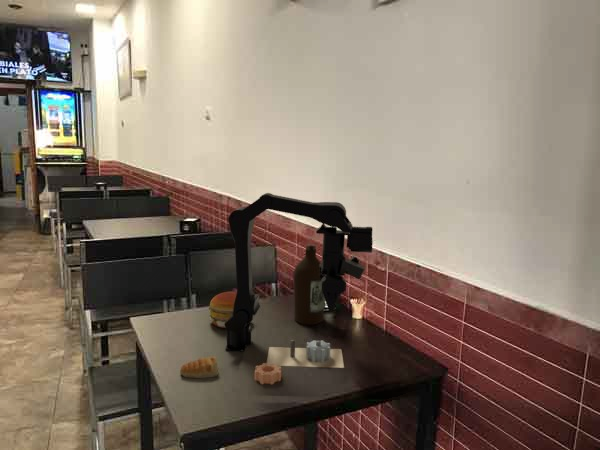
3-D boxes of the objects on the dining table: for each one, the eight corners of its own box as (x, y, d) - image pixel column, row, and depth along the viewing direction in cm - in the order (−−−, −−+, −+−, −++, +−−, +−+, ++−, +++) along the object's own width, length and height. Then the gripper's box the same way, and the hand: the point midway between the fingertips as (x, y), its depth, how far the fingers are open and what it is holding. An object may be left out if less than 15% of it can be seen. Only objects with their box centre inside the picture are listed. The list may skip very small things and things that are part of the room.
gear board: (266, 369, 128) (266, 348, 127) (269, 351, 139) (269, 331, 138) (343, 372, 128) (344, 351, 127) (341, 353, 139) (341, 334, 138)
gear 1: (253, 388, 119) (253, 374, 118) (256, 375, 125) (256, 362, 124) (280, 389, 118) (280, 375, 118) (281, 376, 125) (281, 363, 124)
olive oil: (285, 318, 163) (287, 244, 158) (308, 311, 170) (310, 240, 166) (308, 328, 155) (311, 250, 151) (331, 320, 163) (334, 245, 158)
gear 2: (305, 362, 130) (306, 346, 129) (306, 351, 136) (306, 336, 135) (330, 363, 130) (330, 346, 129) (329, 352, 136) (329, 337, 135)
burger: (253, 316, 165) (253, 287, 163) (249, 332, 152) (249, 300, 150) (212, 315, 165) (212, 286, 163) (205, 331, 151) (204, 300, 150)
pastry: (181, 382, 121) (181, 367, 120) (179, 370, 127) (178, 356, 127) (220, 377, 124) (220, 362, 123) (215, 365, 130) (215, 351, 130)
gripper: (368, 260, 124) (364, 319, 127) (359, 243, 142) (355, 295, 145) (323, 258, 124) (320, 318, 127) (320, 241, 142) (317, 294, 145)
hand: (330, 305), depth 136 cm, fingers open, 9 cm apart
